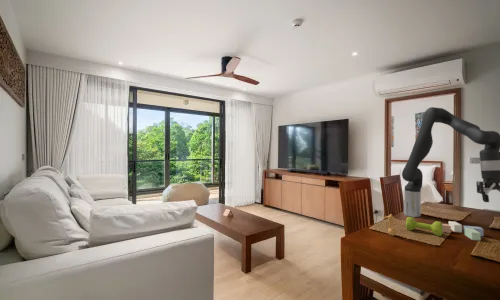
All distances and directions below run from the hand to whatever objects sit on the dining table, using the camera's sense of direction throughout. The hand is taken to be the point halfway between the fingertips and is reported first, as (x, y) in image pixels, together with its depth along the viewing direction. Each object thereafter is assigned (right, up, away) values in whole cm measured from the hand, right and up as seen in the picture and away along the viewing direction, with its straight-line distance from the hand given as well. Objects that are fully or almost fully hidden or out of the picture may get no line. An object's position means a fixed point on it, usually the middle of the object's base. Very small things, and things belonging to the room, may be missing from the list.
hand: (495, 201), depth 115 cm
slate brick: (-2, -20, +9) cm, 22 cm away
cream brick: (-6, -20, +16) cm, 26 cm away
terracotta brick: (-15, -20, +14) cm, 29 cm away
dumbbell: (-26, -20, +13) cm, 36 cm away
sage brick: (-7, -20, +5) cm, 22 cm away
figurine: (-47, -21, +8) cm, 52 cm away
